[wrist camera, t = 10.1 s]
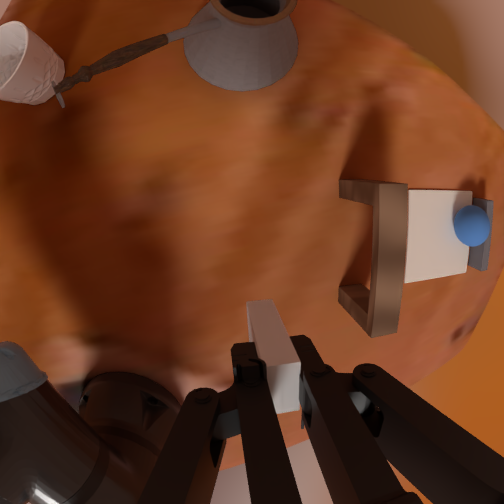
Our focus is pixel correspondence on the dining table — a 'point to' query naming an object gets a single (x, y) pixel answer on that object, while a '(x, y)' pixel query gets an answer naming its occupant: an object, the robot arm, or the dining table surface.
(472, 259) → the stopper wall
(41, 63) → the white cup
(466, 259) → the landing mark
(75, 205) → the dining table surface
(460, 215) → the ball
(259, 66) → the coffee pot
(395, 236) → the bridge
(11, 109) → the dining table surface
